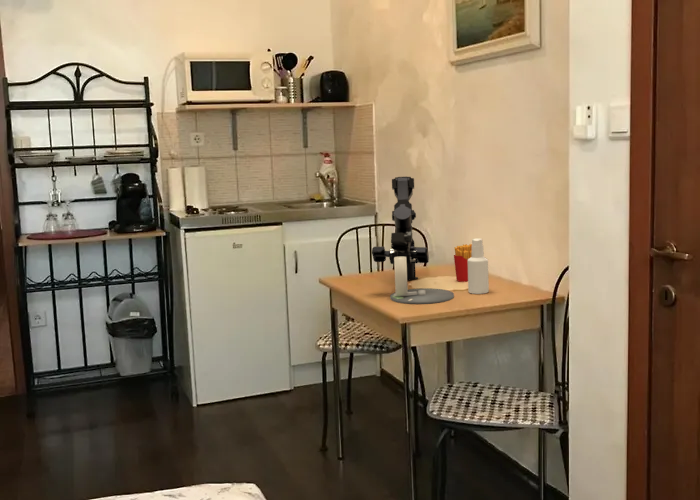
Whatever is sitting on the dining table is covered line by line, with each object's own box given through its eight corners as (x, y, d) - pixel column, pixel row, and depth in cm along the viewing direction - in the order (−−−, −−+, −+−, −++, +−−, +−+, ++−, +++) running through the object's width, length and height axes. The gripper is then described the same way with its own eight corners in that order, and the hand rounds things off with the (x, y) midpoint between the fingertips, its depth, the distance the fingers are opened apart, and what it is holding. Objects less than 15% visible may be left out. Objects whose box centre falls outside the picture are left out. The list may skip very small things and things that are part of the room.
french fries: (458, 282, 280) (457, 246, 278) (452, 280, 284) (451, 245, 282) (480, 279, 283) (480, 244, 281) (474, 277, 287) (474, 242, 285)
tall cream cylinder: (414, 292, 260) (413, 255, 258) (418, 295, 256) (417, 256, 254) (392, 294, 258) (391, 257, 256) (396, 297, 254) (394, 258, 252)
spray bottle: (490, 290, 264) (489, 237, 261) (487, 294, 258) (485, 240, 255) (470, 289, 266) (468, 237, 264) (466, 294, 260) (465, 240, 257)
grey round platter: (429, 288, 273) (429, 281, 272) (466, 297, 254) (466, 290, 254) (378, 296, 262) (378, 290, 262) (413, 307, 244) (413, 300, 244)
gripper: (372, 222, 262) (366, 260, 253) (427, 223, 258) (423, 261, 249) (377, 242, 271) (371, 279, 262) (430, 243, 267) (426, 281, 258)
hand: (397, 275), depth 258 cm, fingers closed, pressing on tall cream cylinder
